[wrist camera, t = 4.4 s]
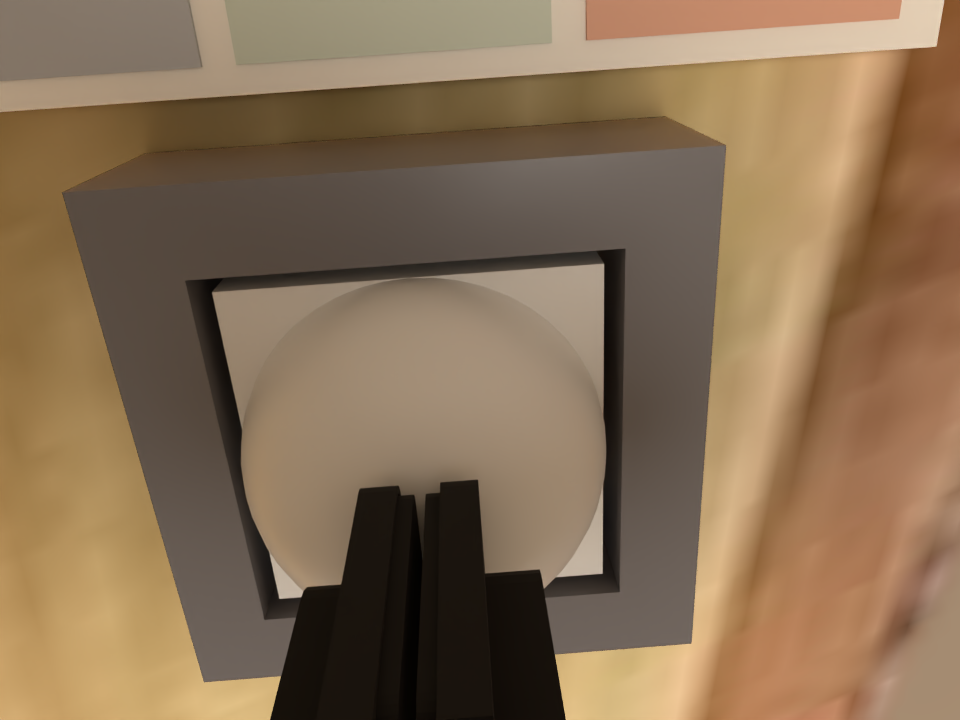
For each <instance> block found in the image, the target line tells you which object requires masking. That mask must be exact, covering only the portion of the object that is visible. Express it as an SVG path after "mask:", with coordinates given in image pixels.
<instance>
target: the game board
mask: <svg viewBox="0 0 960 720" xmlns="http://www.w3.org/2000/svg"><path fill="white" fill-rule="evenodd" d="M943 5H944V0H0V112H9V111H23V110H37V109H51V108H66V107H80V106H94V105H109V104H123V103H137V102H151V101H166V100H180V99H194V98H209V97H223V96H237V95H252V94H266V93H280V92H294V91H309V90H323V89H337V88H352V87H366V86H380V85H395V84H409V83H423V82H437V81H452V80H466V79H480V78H495V77H509V76H523V75H537V74H552V73H566V72H580V71H595V70H609V69H623V68H638V67H652V66H666V65H680V64H695V63H709V62H723V61H738V60H752V59H766V58H781V57H795V56H809V55H823V54H838V53H852V52H866V51H881V50H895V49H909V48H923V47H936V45H937V40H938V34H939V28H940V22H941V16H942V11H943Z"/></svg>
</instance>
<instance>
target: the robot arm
mask: <svg viewBox="0 0 960 720" xmlns="http://www.w3.org/2000/svg"><path fill="white" fill-rule="evenodd" d="M270 720H566V719H565V713H564V707H563V701H562V695H561V689H560V683H559V677H558V671H557V665H556V659H555V653H554V647H553V641H552V635H551V629H550V623H549V617H548V611H547V605H546V599H545V593H544V587H543V581H542V576H541V572H540V569H538V570H525V571H511V572H498V573H485V564H484V551H483V538H482V525H481V511H480V498H479V485H478V480H464V481H451V482H440V493H428V494H426V497H425V517H424V539H423V560H422V551H421V543H420V534H419V526H418V517H417V509H416V501H415V496H414V495H401V492H400V488H399V486H398V485H397V486H384V487H371V488H360V489H359V492H358V497H357V503H356V508H355V513H354V519H353V524H352V529H351V535H350V540H349V545H348V551H347V556H346V561H345V567H344V572H343V577H342V583H341V584H340V585H326V586H313V587H306V589H305V590H304V591H303V594H302V597H301V600H300V604H299V608H298V612H297V616H296V619H295V623H294V627H293V631H292V635H291V639H290V643H289V647H288V651H287V655H286V659H285V663H284V667H283V671H282V675H281V679H280V683H279V687H278V691H277V695H276V699H275V703H274V707H273V711H272V715H271V719H270Z"/></svg>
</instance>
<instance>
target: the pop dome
mask: <svg viewBox="0 0 960 720" xmlns="http://www.w3.org/2000/svg"><path fill="white" fill-rule="evenodd" d="M212 295H213V300H214V304H215V309H216V313H217V318H218V322H219V327H220V331H221V336H222V341H223V345H224V350H225V354H226V359H227V363H228V368H229V372H230V377H231V381H232V386H233V390H234V395H235V400H236V404H237V409H238V413H239V418H240V422H241V427H242V440H241V469H242V476H243V482H244V489H245V494H246V499H247V502H248V506H249V509H250V512H251V515H252V518H253V520H254V522H255V525H256V527H257V529H258V531H259V533H260V535H261V537H262V539H263V541H264V543H265V545H266V547H267V549H268V550H269V554H270V558H271V563H272V567H273V572H274V576H275V581H276V585H277V590H278V594H279V599H284V598H297V597H302V594H303V591H304V590H305V589H306V587H313V586H326V585H340V584H341V583H342V577H343V572H344V567H345V561H346V556H347V551H348V545H349V540H350V535H351V529H352V524H353V519H354V513H355V508H356V503H357V497H358V492H359V489H360V488H371V487H384V486H397V485H398V486H399V488H400V492H401V495H414V496H415V501H416V509H417V517H418V526H419V534H420V543H421V551H422V560H423V539H424V517H425V497H426V494H428V493H440V482H451V481H464V480H478V485H479V498H480V511H481V525H482V538H483V551H484V564H485V573H498V572H511V571H525V570H538V569H540V572H541V576H542V581H543V587H544V588H545V587H546V586H547V585H548V584H549V583H550V582H551V581H552V580H553V579H554V578H555V577H566V576H579V575H592V574H603V482H604V477H605V465H606V435H605V424H604V419H603V390H604V263H603V261H602V259H601V258H600V256H599V255H598V253H597V252H596V251H585V252H571V253H557V254H543V255H530V256H516V257H502V258H488V259H475V260H461V261H447V262H434V263H420V264H406V265H392V266H379V267H365V268H351V269H338V270H324V271H310V272H296V273H283V274H269V275H255V276H241V277H228V278H223V280H222V281H221V282H220V283H219V284H218V286H217V287H216V288H215V289H214V290H213V292H212Z"/></svg>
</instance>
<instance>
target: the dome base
mask: <svg viewBox="0 0 960 720" xmlns="http://www.w3.org/2000/svg"><path fill="white" fill-rule="evenodd" d="M725 154H726V145H724V144H722V143H720V142H718V141H716V140H714V139H712V138H710V137H708V136H705V135H703V134H701V133H699V132H697V131H695V130H693V129H691V128H689V127H686V126H684V125H682V124H680V123H678V122H676V121H674V120H672V119H670V118H667V117H652V118H637V119H623V120H609V121H595V122H581V123H567V124H553V125H539V126H524V127H510V128H496V129H482V130H468V131H454V132H440V133H426V134H411V135H397V136H383V137H369V138H355V139H341V140H327V141H313V142H298V143H284V144H270V145H256V146H242V147H228V148H214V149H199V150H185V151H171V152H157V153H145V154H143V155H141V156H139V157H137V158H134V159H132V160H130V161H128V162H126V163H124V164H122V165H120V166H117V167H115V168H113V169H111V170H109V171H107V172H105V173H103V174H101V175H98V176H96V177H94V178H92V179H90V180H88V181H86V182H84V183H81V184H79V185H77V186H75V187H73V188H71V189H69V190H67V191H64V192H62V194H63V197H64V201H65V204H66V208H67V211H68V215H69V218H70V222H71V225H72V228H73V232H74V235H75V239H76V242H77V246H78V249H79V253H80V256H81V259H82V263H83V266H84V270H85V273H86V277H87V280H88V284H89V287H90V290H91V294H92V297H93V301H94V304H95V308H96V311H97V315H98V318H99V322H100V325H101V328H102V332H103V335H104V339H105V342H106V346H107V349H108V353H109V356H110V359H111V363H112V366H113V370H114V373H115V377H116V380H117V384H118V387H119V390H120V394H121V397H122V401H123V404H124V408H125V411H126V415H127V418H128V421H129V425H130V428H131V432H132V435H133V439H134V442H135V446H136V449H137V453H138V456H139V459H140V463H141V466H142V470H143V473H144V477H145V480H146V484H147V487H148V490H149V494H150V497H151V501H152V504H153V508H154V511H155V515H156V518H157V521H158V525H159V528H160V532H161V535H162V539H163V542H164V546H165V549H166V552H167V556H168V559H169V563H170V566H171V570H172V573H173V577H174V580H175V584H176V587H177V590H178V594H179V597H180V601H181V604H182V608H183V611H184V615H185V618H186V621H187V625H188V628H189V632H190V635H191V639H192V642H193V646H194V649H195V652H196V656H197V659H198V663H199V666H200V670H201V673H202V677H203V680H204V682H212V681H225V680H238V679H250V678H263V677H275V676H281V675H282V671H283V667H284V663H285V659H286V655H287V651H288V647H289V643H290V639H291V635H292V631H293V627H294V623H295V619H296V616H297V612H298V608H299V604H300V600H301V597H297V598H284V599H279V594H278V590H277V585H276V581H275V576H274V572H273V567H272V563H271V558H270V554H269V550H268V549H267V547H266V545H265V543H264V541H263V539H262V537H261V535H260V533H259V531H258V529H257V527H256V525H255V522H254V520H253V518H252V515H251V512H250V509H249V506H248V502H247V499H246V494H245V489H244V482H243V476H242V469H241V440H242V427H241V422H240V418H239V413H238V409H237V404H236V400H235V395H234V390H233V386H232V381H231V377H230V372H229V368H228V363H227V359H226V354H225V350H224V345H223V341H222V336H221V331H220V327H219V322H218V318H217V313H216V309H215V304H214V300H213V295H212V292H213V290H214V289H215V288H216V287H217V286H218V284H219V283H220V282H221V281H222V280H223V278H228V277H241V276H255V275H269V274H283V273H296V272H310V271H324V270H338V269H351V268H365V267H379V266H392V265H406V264H420V263H434V262H447V261H461V260H475V259H488V258H502V257H516V256H530V255H543V254H557V253H571V252H585V251H596V252H597V253H598V255H599V256H600V258H601V259H602V261H603V263H604V390H603V419H604V424H605V435H606V465H605V477H604V482H603V574H592V575H579V576H566V577H555V578H554V579H553V580H552V581H551V582H550V583H549V584H548V585H547V586H546V587H545V588H544V593H545V599H546V605H547V611H548V617H549V623H550V629H551V635H552V641H553V647H554V653H555V654H565V653H578V652H591V651H603V650H616V649H628V648H641V647H654V646H666V645H679V644H691V642H692V628H693V613H694V599H695V585H696V570H697V556H698V542H699V527H700V513H701V498H702V484H703V470H704V455H705V441H706V427H707V412H708V398H709V384H710V369H711V355H712V340H713V326H714V312H715V297H716V283H717V269H718V254H719V240H720V226H721V211H722V197H723V182H724V168H725Z"/></svg>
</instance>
